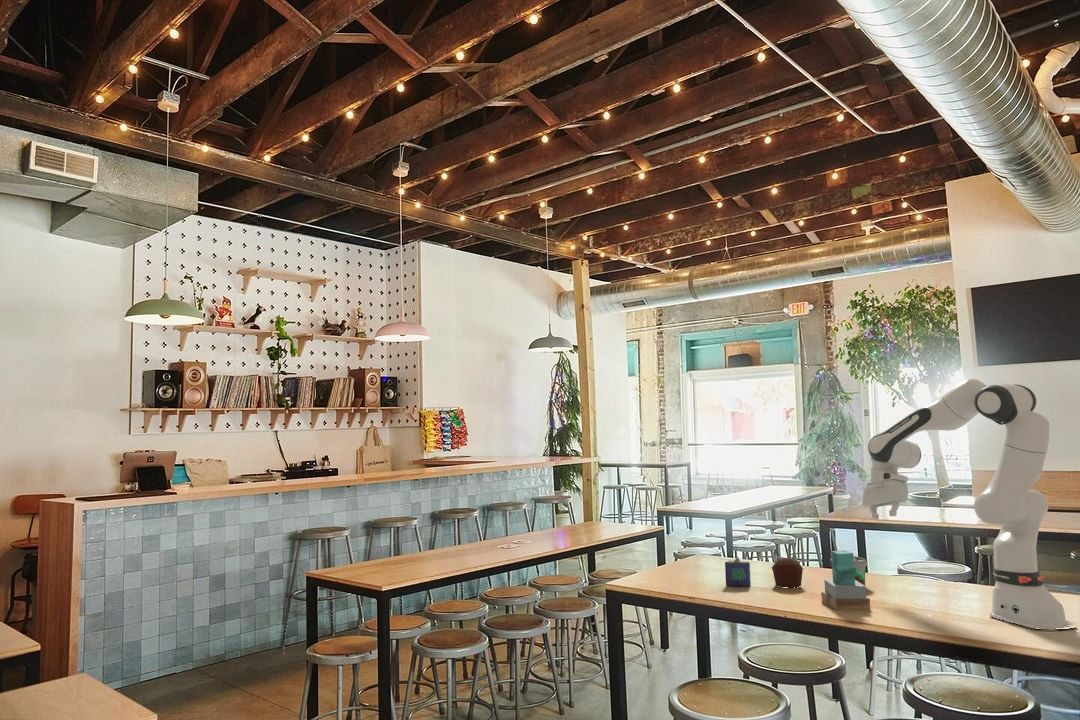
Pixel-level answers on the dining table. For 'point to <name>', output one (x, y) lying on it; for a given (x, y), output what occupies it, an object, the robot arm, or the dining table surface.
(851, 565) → the teal block
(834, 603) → the block
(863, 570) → the food container
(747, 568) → the flask
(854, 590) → the tower top
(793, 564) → the muffin
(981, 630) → the dining table surface
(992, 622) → the dining table surface
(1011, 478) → the robot arm
